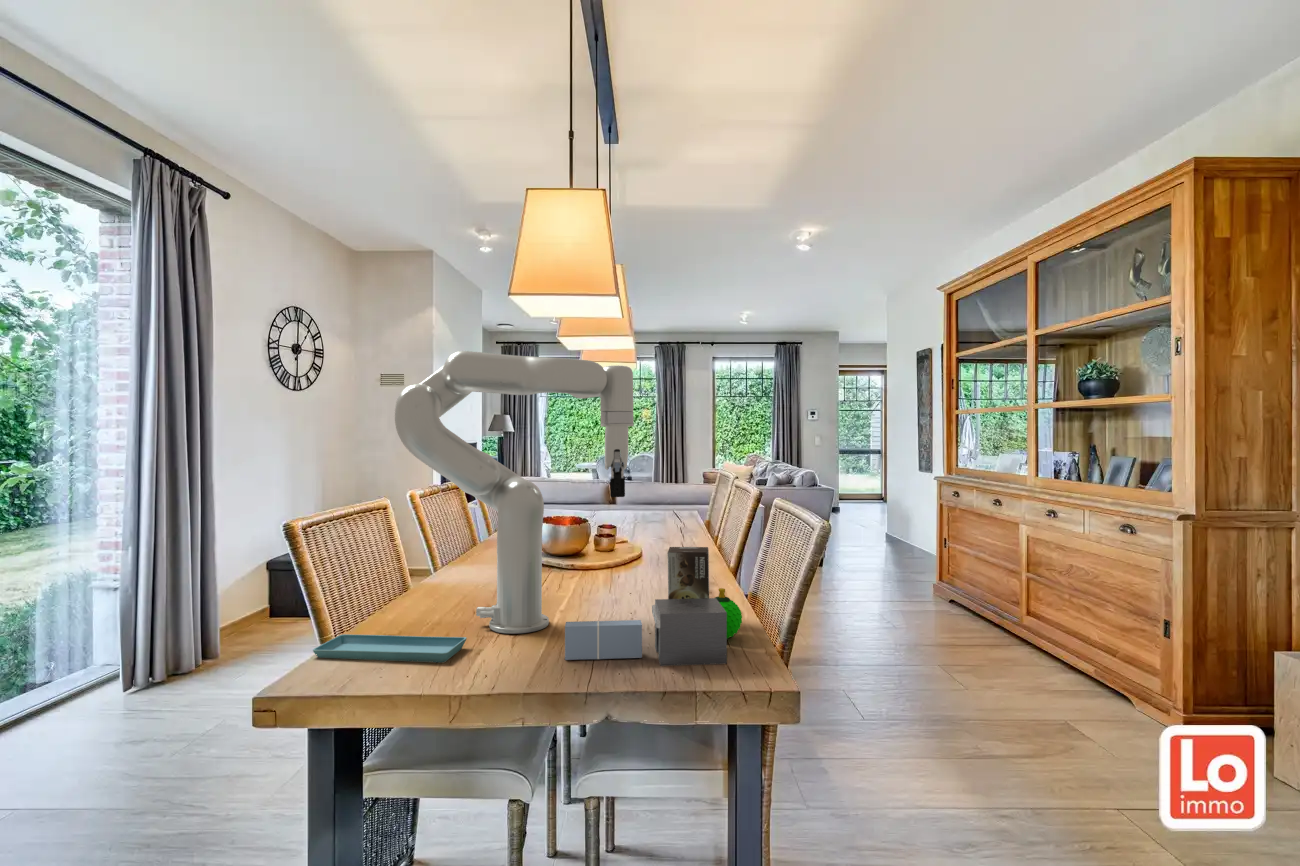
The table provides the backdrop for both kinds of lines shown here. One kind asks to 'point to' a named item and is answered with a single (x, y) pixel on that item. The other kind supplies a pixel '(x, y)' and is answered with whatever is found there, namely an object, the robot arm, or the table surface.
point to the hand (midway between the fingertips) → (617, 494)
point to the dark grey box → (690, 631)
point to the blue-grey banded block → (603, 639)
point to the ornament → (730, 613)
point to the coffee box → (688, 572)
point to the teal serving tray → (391, 648)
